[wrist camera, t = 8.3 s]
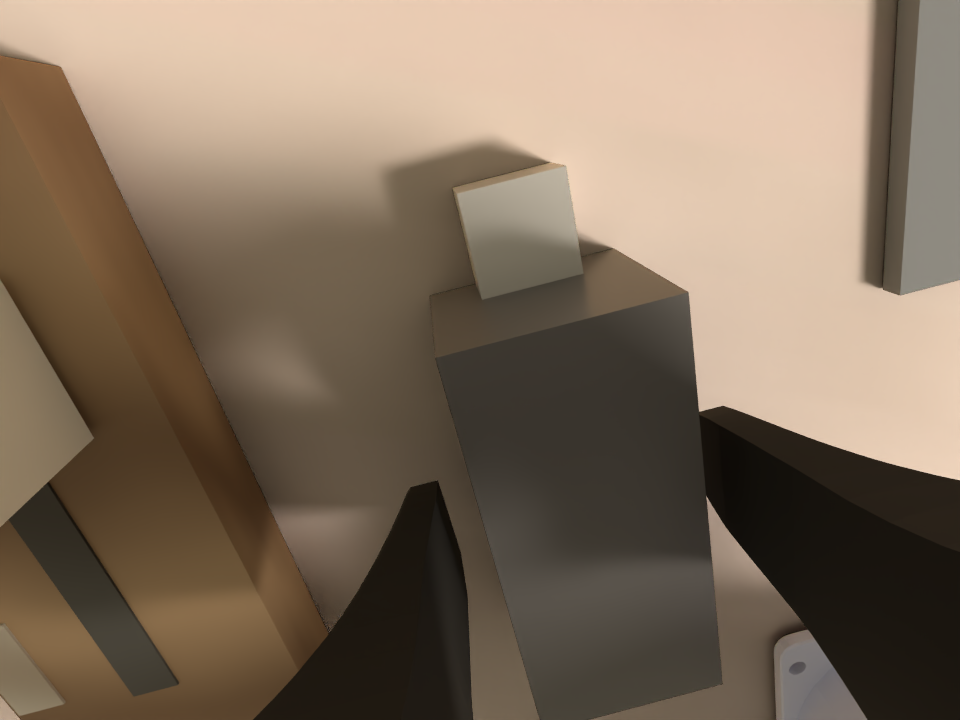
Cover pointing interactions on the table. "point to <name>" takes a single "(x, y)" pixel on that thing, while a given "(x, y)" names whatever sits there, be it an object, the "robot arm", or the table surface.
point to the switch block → (127, 466)
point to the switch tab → (31, 414)
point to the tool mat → (924, 149)
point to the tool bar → (581, 451)
